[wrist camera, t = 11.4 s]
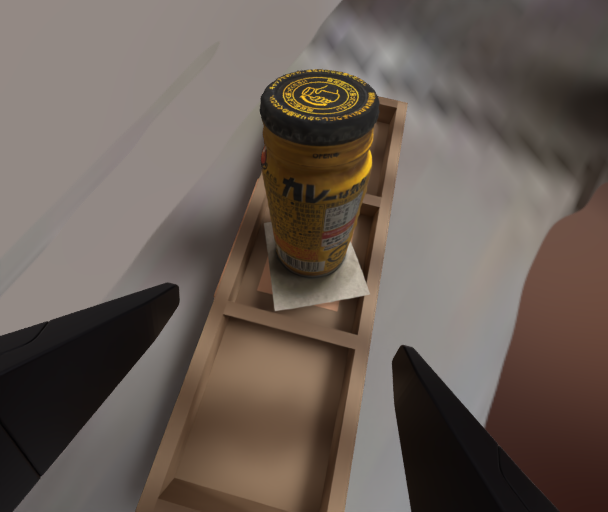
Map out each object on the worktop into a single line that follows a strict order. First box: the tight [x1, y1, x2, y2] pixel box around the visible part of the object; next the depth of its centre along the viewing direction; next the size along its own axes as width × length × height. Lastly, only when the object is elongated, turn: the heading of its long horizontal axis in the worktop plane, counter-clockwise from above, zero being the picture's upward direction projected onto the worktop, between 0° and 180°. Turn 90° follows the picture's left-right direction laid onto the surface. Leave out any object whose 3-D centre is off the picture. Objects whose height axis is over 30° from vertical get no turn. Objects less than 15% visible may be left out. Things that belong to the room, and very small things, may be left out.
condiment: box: [260, 69, 380, 311], centre depth 14 cm, size 7×8×12 cm
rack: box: [135, 96, 408, 512], centre depth 20 cm, size 37×12×3 cm, turn 166°
